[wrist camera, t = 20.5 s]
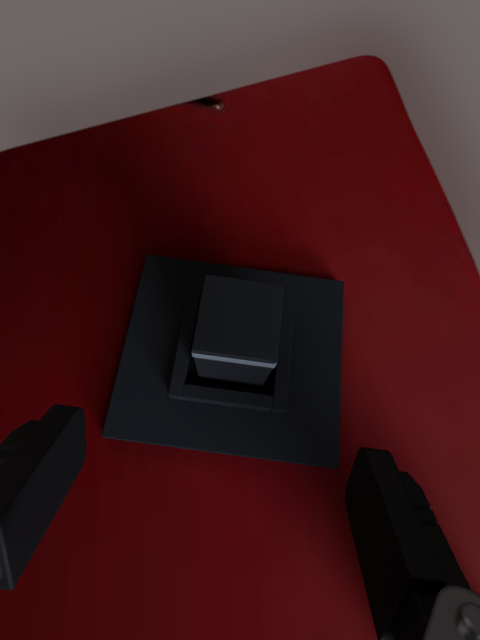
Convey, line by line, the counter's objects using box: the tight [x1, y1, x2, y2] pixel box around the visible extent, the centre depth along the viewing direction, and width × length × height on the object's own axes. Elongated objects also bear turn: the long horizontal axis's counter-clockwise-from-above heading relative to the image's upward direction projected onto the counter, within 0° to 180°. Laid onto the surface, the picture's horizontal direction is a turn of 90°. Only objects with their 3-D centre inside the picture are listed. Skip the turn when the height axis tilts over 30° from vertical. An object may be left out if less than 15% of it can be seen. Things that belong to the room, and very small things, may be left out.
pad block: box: [191, 274, 284, 387], centre depth 25 cm, size 5×5×8 cm
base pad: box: [102, 254, 344, 469], centre depth 29 cm, size 17×15×2 cm
